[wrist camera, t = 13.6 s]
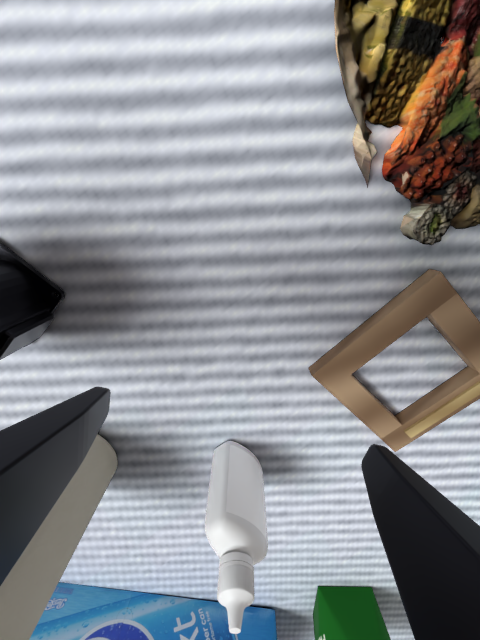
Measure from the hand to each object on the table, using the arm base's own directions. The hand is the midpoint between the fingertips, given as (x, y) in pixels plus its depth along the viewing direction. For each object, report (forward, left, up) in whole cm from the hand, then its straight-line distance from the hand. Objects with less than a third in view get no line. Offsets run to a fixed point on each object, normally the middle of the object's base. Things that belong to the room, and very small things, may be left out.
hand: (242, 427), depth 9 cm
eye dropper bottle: (+11, -12, -13) cm, 21 cm away
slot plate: (+14, +6, -13) cm, 20 cm away
